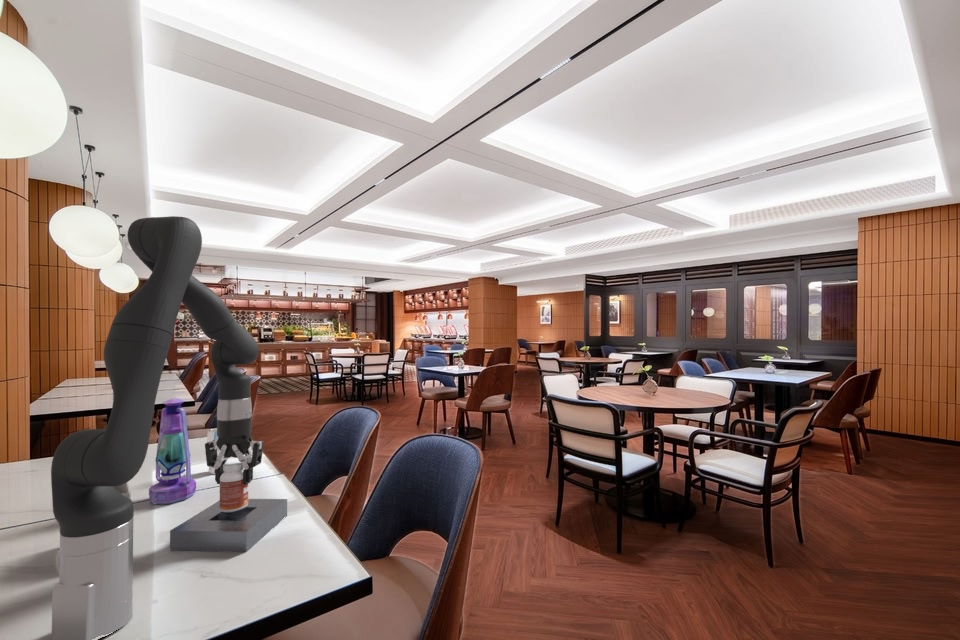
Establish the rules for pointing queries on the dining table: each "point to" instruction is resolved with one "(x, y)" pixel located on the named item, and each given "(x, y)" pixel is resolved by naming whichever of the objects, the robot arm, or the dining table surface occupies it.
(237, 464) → the pill bottle
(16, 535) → the dining table surface
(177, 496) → the lantern
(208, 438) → the beer glass
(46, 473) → the dining table surface
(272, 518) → the bore housing
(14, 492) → the dining table surface
